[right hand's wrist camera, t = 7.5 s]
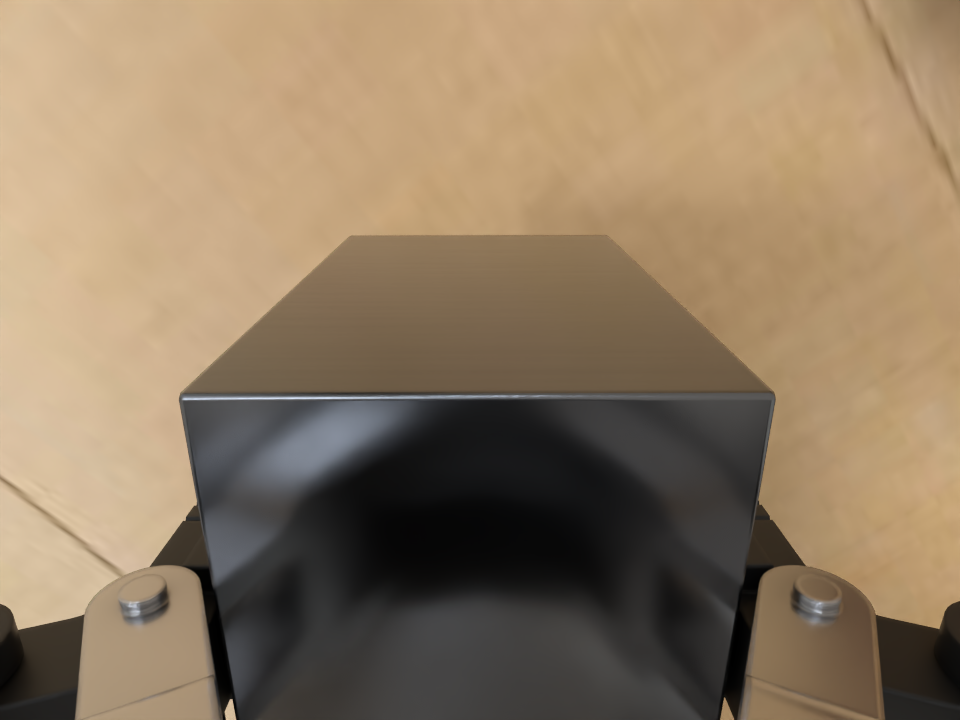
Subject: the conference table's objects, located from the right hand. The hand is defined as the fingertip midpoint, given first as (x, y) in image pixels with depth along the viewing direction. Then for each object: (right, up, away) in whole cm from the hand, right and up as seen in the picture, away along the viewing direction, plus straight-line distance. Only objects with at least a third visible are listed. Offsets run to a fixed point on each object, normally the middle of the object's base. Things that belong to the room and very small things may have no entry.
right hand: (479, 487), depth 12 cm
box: (0, -5, +7) cm, 9 cm away
